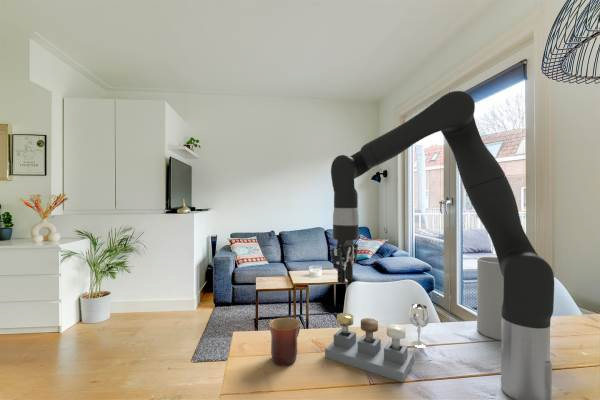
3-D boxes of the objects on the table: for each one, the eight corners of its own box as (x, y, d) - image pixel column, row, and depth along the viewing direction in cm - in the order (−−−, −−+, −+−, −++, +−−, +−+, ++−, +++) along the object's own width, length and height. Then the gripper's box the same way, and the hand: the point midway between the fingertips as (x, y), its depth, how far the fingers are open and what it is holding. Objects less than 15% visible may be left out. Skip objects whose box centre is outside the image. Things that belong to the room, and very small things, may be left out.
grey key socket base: (414, 360, 86) (414, 341, 86) (403, 382, 76) (403, 360, 76) (342, 341, 98) (342, 324, 98) (324, 357, 88) (325, 338, 88)
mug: (288, 372, 80) (288, 333, 80) (262, 362, 85) (262, 325, 85) (310, 352, 90) (310, 317, 90) (286, 345, 95) (286, 312, 95)
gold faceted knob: (355, 335, 92) (355, 315, 92) (349, 341, 88) (349, 320, 88) (341, 331, 94) (341, 311, 94) (334, 337, 90) (334, 316, 90)
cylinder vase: (468, 329, 107) (469, 258, 107) (492, 324, 112) (493, 255, 112) (504, 345, 96) (505, 265, 95) (529, 338, 100) (530, 262, 100)
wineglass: (430, 349, 92) (430, 310, 92) (410, 348, 94) (410, 308, 93) (426, 341, 98) (426, 303, 98) (407, 339, 99) (408, 302, 99)
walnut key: (380, 341, 88) (380, 320, 88) (374, 348, 84) (374, 326, 84) (364, 337, 90) (364, 317, 90) (358, 343, 86) (358, 322, 86)
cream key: (407, 348, 84) (407, 326, 84) (402, 356, 79) (402, 333, 79) (389, 343, 86) (389, 322, 86) (384, 351, 82) (384, 328, 82)
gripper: (347, 225, 83) (347, 288, 83) (366, 222, 95) (366, 277, 95) (323, 224, 87) (322, 284, 87) (344, 221, 99) (343, 273, 99)
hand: (345, 280), depth 91 cm, fingers open, 4 cm apart
